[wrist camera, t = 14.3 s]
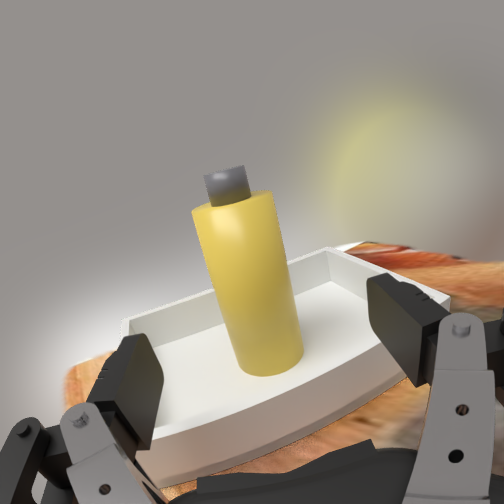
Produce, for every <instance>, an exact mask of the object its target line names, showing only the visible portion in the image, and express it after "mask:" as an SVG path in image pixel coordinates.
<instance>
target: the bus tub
mask: <svg viewBox="0 0 504 504" xmlns="http://www.w3.org/2000/svg"><path fill="white" fill-rule="evenodd" d="M287 265H288V269H289V274H290V279H291V284H292V289H293V294H294V299H295V305H296V310H297V315H298V320H299V325H300V331H301V336H302V341H303V347H304V353H303V356H302V358H301V360H300V361H299V362H298V363H297V364H296V365H295V366H294V367H293V368H291V369H289V370H288V371H286V372H283V373H281V374H278V375H274V376H267V377H258V376H252V375H249V374H247V373H245V372H244V371H242V370H241V368H240V367H239V365H238V362H237V359H236V356H235V353H234V350H233V347H232V344H231V341H230V338H229V335H228V332H227V329H226V326H225V323H224V320H223V316H222V313H221V310H220V307H219V304H218V301H217V297H216V294H215V291H214V288H212V289H209V290H207V291H204V292H201V293H198V294H195V295H192V296H189V297H186V298H183V299H180V300H177V301H174V302H172V303H169V304H166V305H163V306H160V307H157V308H154V309H151V310H148V311H146V312H142V313H139V314H136V315H133V316H130V317H127V318H125V319H122V322H121V332H120V343H121V341H122V339H123V337H125V336H129V335H135V334H140V333H144V334H145V335H146V336H147V337H148V339H149V342H150V344H151V346H152V348H153V350H154V352H155V354H156V356H157V359H158V361H159V363H160V365H161V367H162V370H163V374H164V385H163V389H162V394H161V398H160V403H159V408H158V412H157V417H156V422H155V427H154V432H153V437H152V442H151V447H150V450H145V451H137V452H136V456H135V457H136V459H137V460H138V461H139V462H140V464H141V465H142V467H143V468H144V469H145V471H146V472H147V473H148V475H149V476H150V478H151V479H152V480H153V482H154V483H155V484H156V486H157V487H158V488H159V489H161V488H165V487H169V486H173V485H177V484H181V483H184V482H188V481H192V480H195V479H197V477H205V476H208V475H211V474H214V473H217V472H220V471H223V470H226V469H229V468H232V467H235V466H238V465H240V464H243V463H246V462H248V461H251V460H253V459H256V458H258V457H261V456H263V455H266V454H268V453H270V452H273V451H275V450H277V449H280V448H282V447H284V446H286V445H289V444H291V443H293V442H295V441H297V440H299V439H301V438H304V437H306V436H308V435H310V434H312V433H314V432H316V431H318V430H320V429H322V428H323V427H325V426H327V425H329V424H331V423H333V422H335V421H337V420H338V419H340V418H342V417H344V416H346V415H347V414H349V413H351V412H352V411H354V410H356V409H358V408H359V407H361V406H363V405H364V404H366V403H368V402H369V401H371V400H372V399H374V398H376V397H377V396H379V395H380V394H382V393H383V392H385V391H386V390H388V389H390V388H391V387H393V386H394V385H395V384H397V383H398V382H400V381H401V380H403V379H404V378H406V377H407V375H406V374H405V373H404V371H403V370H402V369H401V367H400V366H399V365H398V363H397V362H396V361H395V359H394V358H393V357H392V355H391V354H390V353H389V351H388V350H387V349H386V347H385V346H384V345H383V344H382V342H381V341H380V340H379V338H378V337H377V336H376V334H375V333H374V332H373V330H372V328H371V325H370V322H369V316H368V301H367V288H366V281H367V279H368V278H370V277H373V276H376V275H379V274H383V273H386V272H387V273H389V274H390V275H391V276H393V277H394V278H395V279H396V280H398V281H399V282H402V281H404V282H407V283H410V284H413V285H416V286H417V287H418V288H419V289H421V290H422V291H423V293H426V294H427V295H428V296H430V299H431V298H432V299H433V300H435V301H436V302H437V303H438V304H440V305H441V306H442V307H443V308H445V309H446V310H447V311H448V312H449V307H450V296H448V295H446V294H443V293H441V292H439V291H436V290H434V289H432V288H429V287H427V286H425V285H422V284H420V283H417V282H415V281H413V280H410V279H408V278H405V277H403V276H401V275H398V274H396V273H393V272H391V271H389V270H386V269H384V268H381V267H379V266H376V265H374V264H371V263H369V262H366V261H364V260H361V259H359V258H356V257H354V256H351V255H349V254H346V253H344V252H341V251H339V250H336V249H334V248H331V247H326V248H323V249H320V250H317V251H315V252H312V253H310V254H307V255H304V256H301V257H298V258H296V259H293V260H290V261H288V262H287ZM120 343H119V345H120Z"/></svg>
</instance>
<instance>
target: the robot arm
mask: <svg viewBox="0 0 504 504" xmlns="http://www.w3.org/2000/svg"><path fill="white" fill-rule="evenodd" d="M366 288H367V301H368V316H369V322H370V325H371V328H372V330H373V332H374V333H375V334H376V336H377V337H378V338H379V340H380V341H381V342H382V344H383V345H384V346H385V347H386V349H387V350H388V351H389V353H390V354H391V355H392V357H393V358H394V359H395V361H396V362H397V363H398V365H399V366H400V367H401V369H402V370H403V371H404V373H405V374H406V375H407V377H408V378H409V379H410V381H411V382H412V383H413V385H414V386H415V387H416V388H417V387H419V386H421V385H424V384H426V383H428V384H429V385H430V386H431V388H430V393H429V398H428V403H427V409H426V413H425V418H424V422H423V427H422V431H421V435H420V439H419V443H418V446H417V450H413V449H406V448H380V449H375V447H374V445H373V443H372V441H371V439H368V440H366V441H363V442H360V443H357V444H354V445H351V446H348V447H345V448H342V449H339V450H336V451H332V452H329V453H327V454H325V455H323V456H321V457H319V458H317V459H315V460H313V461H311V462H309V463H307V464H305V465H303V466H301V467H299V468H297V469H294V470H292V471H290V472H287V473H281V474H270V473H240V472H238V473H231V474H224V475H215V476H206V477H197V489H195V490H192V491H189V492H187V493H184V494H182V495H180V496H178V497H176V498H174V499H173V500H171V501H169V500H168V499H167V498H166V497H165V496H164V495H163V493H162V492H161V491H160V489H159V488H158V487H157V486H156V484H155V483H154V482H153V480H152V479H151V478H150V476H149V475H148V473H147V472H146V471H145V469H144V468H143V467H142V465H141V464H140V462H139V461H138V460H137V459H136V457H135V456H136V452H137V451H145V450H150V447H151V442H152V437H153V432H154V427H155V422H156V417H157V412H158V408H159V403H160V398H161V394H162V389H163V385H164V374H163V370H162V367H161V365H160V363H159V361H158V359H157V356H156V354H155V352H154V350H153V348H152V346H151V344H150V342H149V339H148V337H147V336H146V335H145V334H144V333H140V334H135V335H129V336H125V337H123V339H122V341H121V343H120V345H119V347H118V349H117V351H115V352H114V353H113V354H112V355H111V356H110V357H109V358H108V359H107V360H106V361H105V363H104V365H103V367H102V369H101V370H102V371H100V373H99V375H98V379H96V381H95V384H94V386H93V388H92V390H91V392H90V394H89V396H88V398H87V401H86V403H80V404H77V405H75V406H73V407H71V408H70V409H69V410H67V411H66V412H65V414H64V415H63V416H62V418H61V421H60V425H56V426H52V427H48V428H44V427H43V425H42V424H41V423H40V422H39V420H38V419H36V418H34V417H29V418H25V419H23V420H21V421H20V422H18V423H17V424H16V425H15V426H14V427H13V428H12V430H11V432H10V434H9V436H8V438H7V440H6V442H5V444H4V446H3V448H2V450H1V452H0V504H37V503H36V502H35V501H34V499H33V497H32V493H31V490H32V486H33V483H34V480H35V478H36V475H37V472H38V471H39V472H40V473H41V474H42V475H43V476H44V477H45V478H46V479H47V480H48V481H47V484H46V487H45V490H44V494H43V497H42V500H41V504H504V477H503V476H499V475H495V474H491V468H492V459H493V447H494V431H495V397H496V398H497V399H498V400H499V402H500V403H501V404H502V405H503V407H504V308H503V313H502V318H501V319H500V320H496V321H491V322H487V323H482V321H481V320H480V319H479V318H478V317H476V316H474V315H472V314H468V313H454V314H451V313H450V312H448V311H447V310H446V309H445V308H443V307H442V306H441V305H440V304H438V303H437V302H436V301H435V300H433V299H432V298H431V299H430V296H428V295H427V294H426V293H423V291H422V290H421V289H419V288H418V287H417V286H416V285H413V284H410V283H407V282H404V281H402V282H399V281H398V280H396V279H395V278H394V277H393V276H391V275H390V274H389V273H387V272H386V273H383V274H379V275H376V276H373V277H370V278H368V279H367V281H366Z"/></svg>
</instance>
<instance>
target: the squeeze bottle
mask: <svg viewBox="0 0 504 504" xmlns="http://www.w3.org/2000/svg"><path fill="white" fill-rule="evenodd" d="M204 180H205V184H206V188H207V192H208V195H209V199H210V202H209V203H206V204H204V205H201V206H199V207H197V208H195V209H194V210H192V216H193V220H194V223H195V227H196V230H197V234H198V237H199V241H200V244H201V248H202V251H203V255H204V258H205V261H206V264H207V268H208V271H209V274H210V278H211V281H212V285H213V288H214V291H215V294H216V297H217V301H218V304H219V307H220V310H221V313H222V316H223V320H224V323H225V326H226V329H227V332H228V335H229V338H230V341H231V344H232V347H233V350H234V353H235V356H236V359H237V362H238V365H239V367H240V368H241V370H242V371H244V372H245V373H247V374H249V375H252V376H258V377H267V376H274V375H278V374H281V373H283V372H286V371H288V370H289V369H291V368H293V367H294V366H295V365H296V364H297V363H298V362H299V361H300V360H301V358H302V356H303V353H304V347H303V341H302V336H301V331H300V325H299V320H298V315H297V310H296V305H295V299H294V294H293V289H292V284H291V279H290V274H289V269H288V265H287V260H286V255H285V250H284V245H283V241H282V236H281V231H280V227H279V222H278V217H277V213H276V209H275V204H274V199H273V195H272V192H271V191H269V190H268V191H267V190H261V191H253V192H250V188H249V184H248V180H247V175H246V171H245V167H244V165H242V166H238V167H232V168H228V169H224V170H220V171H216V172H213V173H209V174H206V175H204Z"/></svg>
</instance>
